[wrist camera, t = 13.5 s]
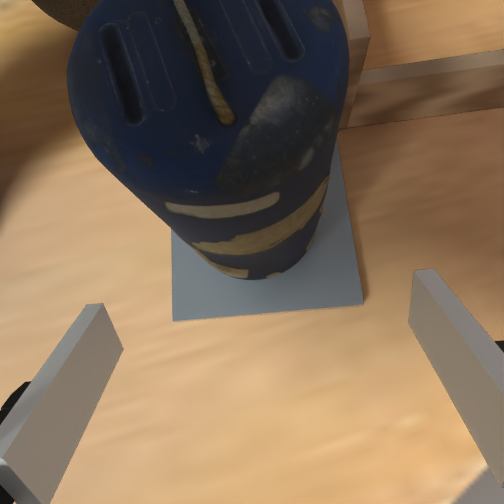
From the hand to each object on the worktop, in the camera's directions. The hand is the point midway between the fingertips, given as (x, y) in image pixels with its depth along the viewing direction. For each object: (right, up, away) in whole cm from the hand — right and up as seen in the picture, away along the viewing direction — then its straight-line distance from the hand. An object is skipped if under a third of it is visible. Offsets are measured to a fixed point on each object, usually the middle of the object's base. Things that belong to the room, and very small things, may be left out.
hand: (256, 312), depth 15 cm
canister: (0, +5, +12) cm, 13 cm away
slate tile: (0, +5, +13) cm, 14 cm away
